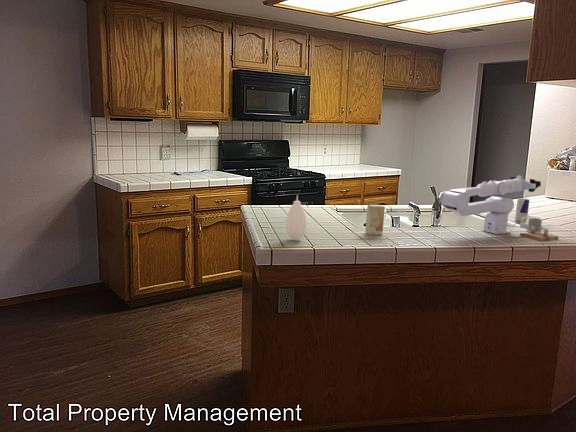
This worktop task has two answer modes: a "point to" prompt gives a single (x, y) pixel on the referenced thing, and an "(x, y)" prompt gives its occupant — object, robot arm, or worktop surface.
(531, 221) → the sleeve
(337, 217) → the worktop surface
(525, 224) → the feeder chute
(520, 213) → the energy drink
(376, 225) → the skincare box
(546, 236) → the pin block
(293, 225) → the sauce bottle
